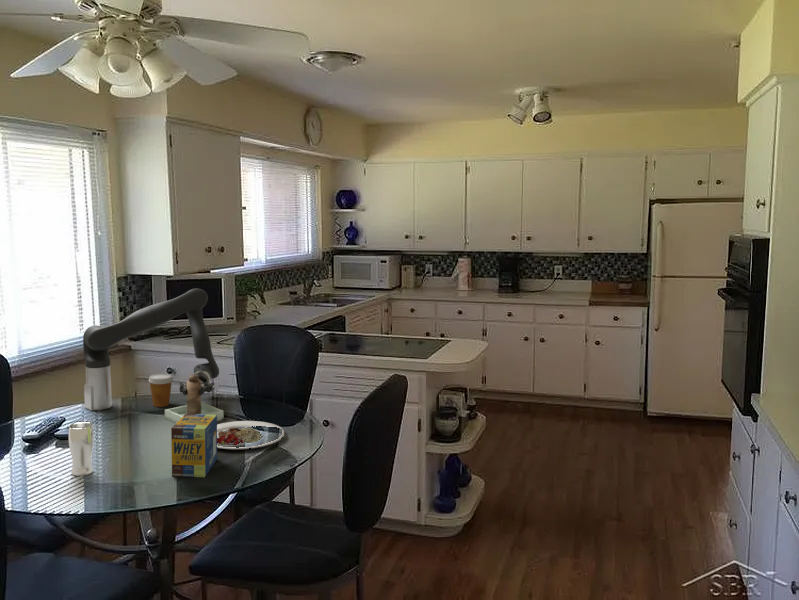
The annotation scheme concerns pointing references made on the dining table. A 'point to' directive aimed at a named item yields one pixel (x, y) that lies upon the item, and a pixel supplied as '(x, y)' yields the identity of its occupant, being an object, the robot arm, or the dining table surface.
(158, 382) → the disposable coffee cup
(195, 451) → the protein box
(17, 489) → the dining table surface
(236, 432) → the plated food
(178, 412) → the bin
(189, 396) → the pepper mill
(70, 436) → the beer glass
